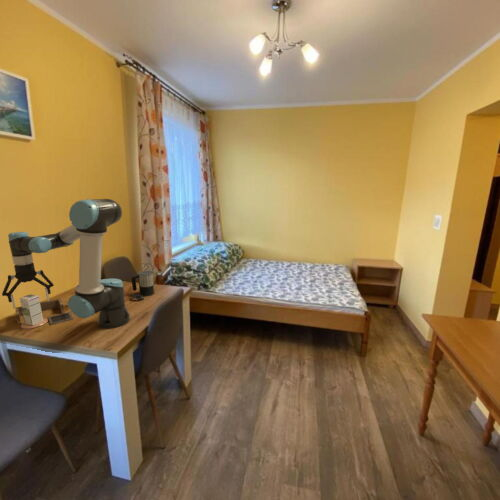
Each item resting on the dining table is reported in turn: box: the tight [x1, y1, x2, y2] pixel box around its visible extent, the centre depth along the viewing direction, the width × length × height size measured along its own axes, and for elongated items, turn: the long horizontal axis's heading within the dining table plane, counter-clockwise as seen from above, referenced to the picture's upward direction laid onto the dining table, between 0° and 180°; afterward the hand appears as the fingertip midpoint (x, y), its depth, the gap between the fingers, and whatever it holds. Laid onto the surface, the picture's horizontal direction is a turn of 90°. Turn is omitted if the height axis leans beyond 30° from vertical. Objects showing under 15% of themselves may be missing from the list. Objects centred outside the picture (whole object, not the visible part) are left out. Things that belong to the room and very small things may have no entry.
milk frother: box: [131, 270, 155, 300], centre depth 177 cm, size 14×16×15 cm
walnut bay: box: [14, 298, 66, 325], centre depth 151 cm, size 12×20×5 cm, turn 131°
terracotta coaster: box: [20, 317, 49, 330], centre depth 141 cm, size 11×11×1 cm
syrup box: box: [19, 293, 44, 326], centre depth 140 cm, size 6×6×14 cm
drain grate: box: [47, 311, 74, 326], centre depth 147 cm, size 10×10×1 cm
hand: (31, 303), depth 139 cm, fingers open, 13 cm apart
